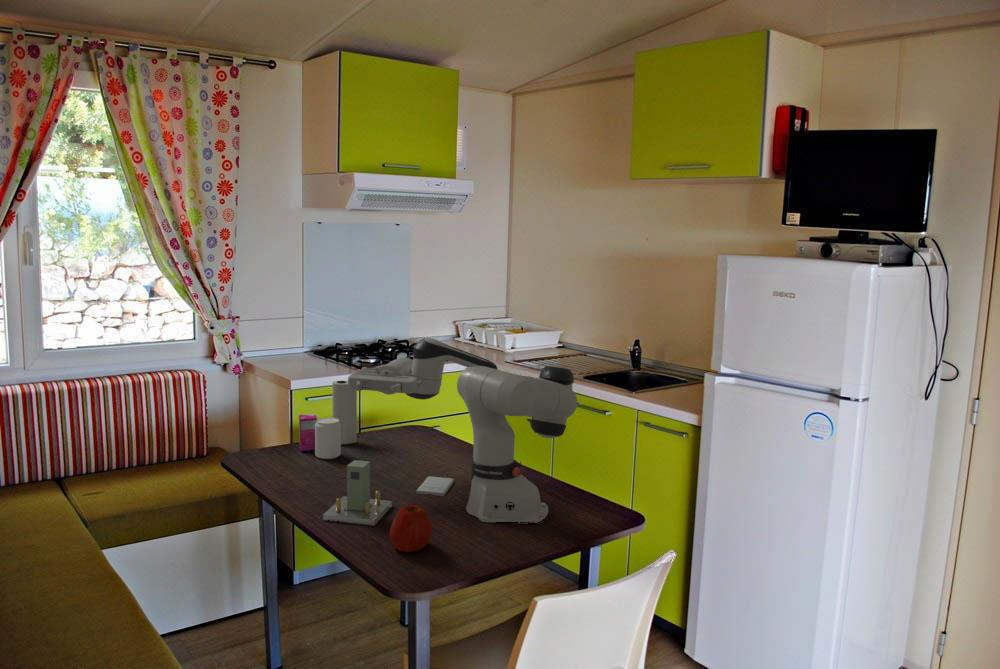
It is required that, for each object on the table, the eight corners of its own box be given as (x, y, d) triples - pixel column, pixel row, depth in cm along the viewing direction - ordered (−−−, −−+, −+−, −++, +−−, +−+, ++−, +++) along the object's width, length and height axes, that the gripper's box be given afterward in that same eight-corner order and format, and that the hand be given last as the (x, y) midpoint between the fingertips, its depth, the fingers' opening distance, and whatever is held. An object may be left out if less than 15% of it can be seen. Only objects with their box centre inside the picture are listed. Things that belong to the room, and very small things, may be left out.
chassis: (391, 506, 223) (392, 488, 222) (374, 525, 210) (374, 507, 209) (343, 501, 226) (343, 483, 225) (323, 520, 212) (323, 501, 211)
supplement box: (299, 447, 273) (298, 414, 271) (317, 446, 275) (316, 413, 273) (299, 452, 267) (299, 418, 266) (318, 451, 269) (318, 417, 267)
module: (369, 504, 219) (370, 461, 217) (363, 511, 215) (363, 467, 213) (353, 502, 220) (354, 460, 218) (346, 509, 215) (346, 465, 213)
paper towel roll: (328, 442, 279) (328, 381, 275) (341, 438, 284) (341, 379, 280) (343, 446, 275) (343, 385, 271) (356, 442, 280) (356, 382, 276)
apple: (432, 556, 193) (432, 514, 191) (388, 556, 192) (388, 514, 190) (432, 538, 203) (433, 498, 201) (390, 538, 202) (391, 498, 200)
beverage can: (316, 452, 268) (316, 417, 266) (341, 452, 269) (341, 417, 267) (313, 460, 260) (313, 423, 258) (339, 460, 261) (339, 423, 259)
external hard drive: (454, 483, 244) (443, 498, 232) (427, 481, 246) (415, 495, 234) (454, 478, 244) (443, 492, 232) (427, 476, 245) (415, 489, 233)
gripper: (423, 392, 242) (409, 402, 228) (358, 386, 246) (340, 397, 232) (423, 371, 241) (409, 381, 227) (358, 366, 245) (340, 375, 231)
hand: (374, 389), depth 230 cm, fingers open, 8 cm apart
